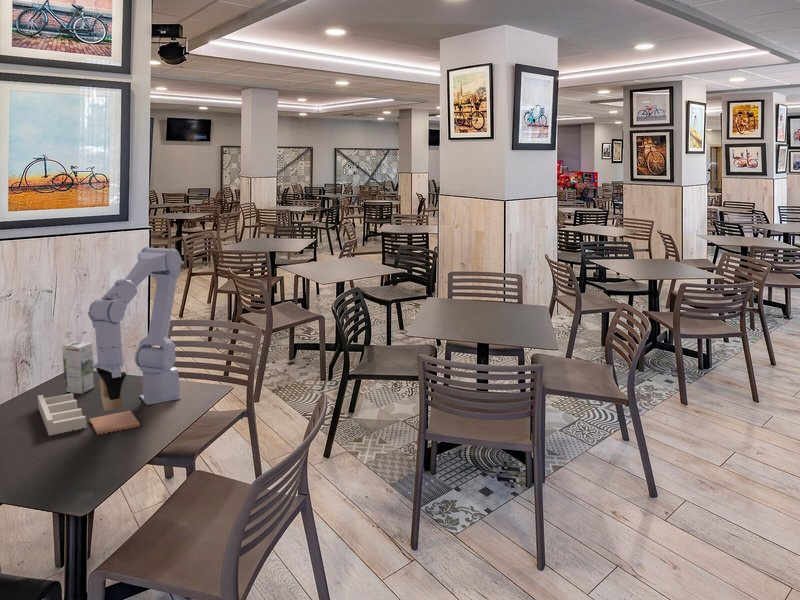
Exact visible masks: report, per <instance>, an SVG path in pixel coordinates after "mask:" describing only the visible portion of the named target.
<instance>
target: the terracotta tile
mask: <svg viewBox="0 0 800 600" xmlns="http://www.w3.org/2000/svg"><path fill="white" fill-rule="evenodd" d="M89 422H90V424H92V425H91V426H92V427H93V430H94V432H95V433H97V434H96V436H99V435H98V434H101V435H104V434H103V433H105V434H109V433H108V432H110V433H113V431H115V432H118V430H119V431H123V430H122V429H124V430H128V428H129V429H132V428H138V427H140V426H141V425H140V422H139V420H138V419H137V418H136V416H135V415H134V414H133V412H132V411H131V410H127V411H122V412H117V413H111V414H105V415H101V416H96V417H92V418H89Z"/></svg>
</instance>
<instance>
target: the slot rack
mask: <svg viewBox="0 0 800 600" xmlns="http://www.w3.org/2000/svg"><path fill="white" fill-rule="evenodd" d="M74 395H75V394H74V393H65V394H59V395H54V396H48V397H44V394H39V395H37V401H38V402H37V403H38V410H39V413H40V415H41V418H42V422H43V424H44V427H45V429H46V432H47V434H48V436H49V437H50V436H54V435H59V433H60V434H64V432H65V433H68V432H69V431H70V432H73V431H72V430H74V431H79V430H83V429H82V428H84V429H87V428H88V427H87V417H86V415H83V410H82V408H78V400H77V399H75V397H74ZM78 429H79V430H78Z"/></svg>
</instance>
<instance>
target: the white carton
mask: <svg viewBox="0 0 800 600" xmlns="http://www.w3.org/2000/svg"><path fill="white" fill-rule="evenodd" d="M61 348H62V360H63V375H64V377H63V378H64V389H65V393H67V392H70V393H73V394H79V395H80V394H81V395H83V394H85V393H87V392H89V391H90V390H93V389H95V386H96V383H95V371H94V370H95V368H93V365H92V364H94V353H93V351H94V350H93V343H92V342H89V341H83V340H79V341H78V340H77V341H76V340H75V341H72V342H71V343H70V342H69V343H68V344H65V345H63V346H61ZM70 393H69V394H70Z"/></svg>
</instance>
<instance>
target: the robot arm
mask: <svg viewBox="0 0 800 600" xmlns="http://www.w3.org/2000/svg"><path fill="white" fill-rule="evenodd" d="M182 260H183V258H182V257H181V254H180V252H179V251H178V250H177V249H176V248H161V247H160V248H159V247H150V246H144V247H142V249H141V250H140V252H138V254H137V262H136V263H135V265H134V266H133V267H132V268H131V270H130V272H129V273H128V275H126V277H125V278H121V279H116V281H115V282H114V284H113V285H112V286H111V287H110V289H108V290H107V292H106V293H105V294H104V295H103V296H102V298H97V299H96V300H94V301H92V302H91V304H90V306H89V308H88V312H87V315H88V317H89V320H91V322H92V327H93V329H94V330H95V331H94V333H95V334H94V335H95V345H96V357H97V362H96V363H95V362H93V364H92V365H93V368H94V369H95V371H96V372H97V373H98V375H99V378H100V377H102V378H103V380H104V382H105V384H106V387H107V391H108V395H109V398H110V400H115V399H119V397H120V392H121V393H122V391H121V390H122V386H123V382H124V380H125V379H126V375H127V372H125V371H122V368H123V366H124V360H123V349H122V348H123V346H122V336H121V335H122V333H121V321H123V319H124V317H125V314H126V311H127V308H128V307H127V306H128V305H129V304H130V303H131V302H132V300H133V299H134V298H135V296H136V295H137V294H138V289H137V287H138V286H139V285H140V284H141V283H142V282H143V281H144V280H146V278H148V276H150V277H152V278H154V280H155V281H156V285H155V286H156V287H155V292H154V299H153V302H152V310H151V314H150V315H151V317H150V323H149V328H148V329H149V330H148V334H147V335H146V336H145V337H144V338H142V339H141V340H140V341H139V343H138V344H139V345H138V348H137V350H136V352H135V354H134V361H135V365H136V366H137V367H138V368H139V370H140V371H142V384H143V385H142V386H143V387H142V388H143V394H140V395H139V398H140V399H141V400H142V401H143V403H144V404H145V405H146V406H150V405H155V404H156V405H157V404H159V403H161V404H162V403H166V402H172V401H175V400H176V401H177V400H180V399H181V396H180V395H181V392H180V377H179V372H178V369H177V367H176V366H175V363H176V357H177V356H176V344H175V343H174V342H173V341H172V340H171V339H170V338H169V331H170V326H171V325H170V324H171V318H172V313H173V306H174V300H175V299H174V298H175V292H176V287H177V280H178V279H179V278H180V274H181V272H180V271H181V268H182V267H181V266H182ZM154 346H155V347H154Z"/></svg>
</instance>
